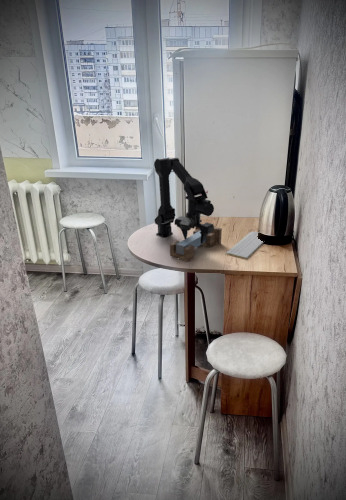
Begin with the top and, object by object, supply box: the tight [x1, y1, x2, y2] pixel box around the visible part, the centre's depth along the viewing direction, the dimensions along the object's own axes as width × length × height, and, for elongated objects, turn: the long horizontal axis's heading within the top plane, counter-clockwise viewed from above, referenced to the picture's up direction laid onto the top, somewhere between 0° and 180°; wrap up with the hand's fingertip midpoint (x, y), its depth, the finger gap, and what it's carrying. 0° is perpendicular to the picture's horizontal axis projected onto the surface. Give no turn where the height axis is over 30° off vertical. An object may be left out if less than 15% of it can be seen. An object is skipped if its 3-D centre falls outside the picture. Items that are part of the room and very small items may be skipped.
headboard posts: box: [169, 222, 223, 262], centre depth 184 cm, size 14×26×8 cm, turn 143°
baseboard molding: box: [225, 228, 264, 260], centre depth 190 cm, size 31×3×12 cm
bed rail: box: [176, 230, 210, 255], centre depth 183 cm, size 4×22×4 cm, turn 143°
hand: (193, 241), depth 183 cm, fingers open, 9 cm apart
